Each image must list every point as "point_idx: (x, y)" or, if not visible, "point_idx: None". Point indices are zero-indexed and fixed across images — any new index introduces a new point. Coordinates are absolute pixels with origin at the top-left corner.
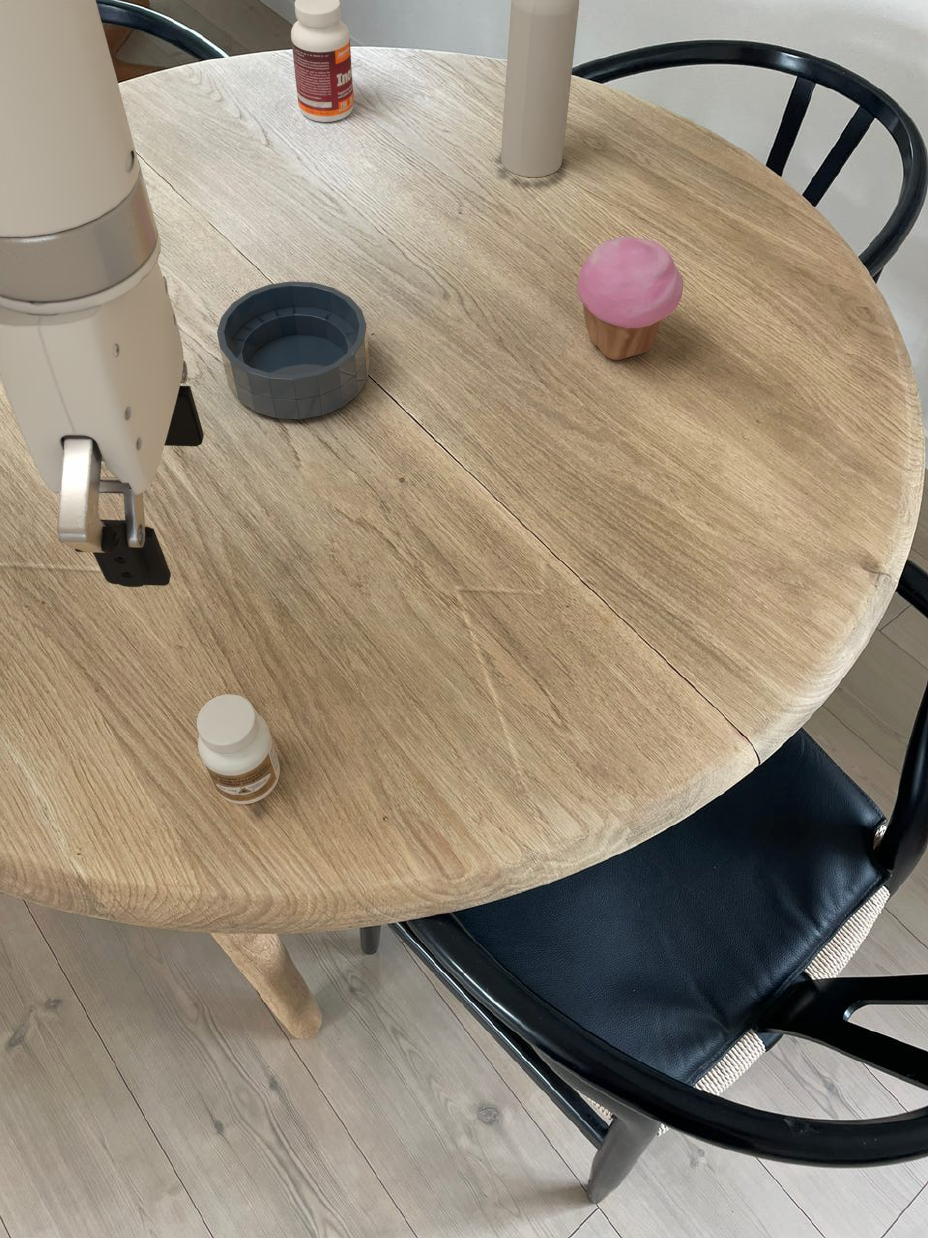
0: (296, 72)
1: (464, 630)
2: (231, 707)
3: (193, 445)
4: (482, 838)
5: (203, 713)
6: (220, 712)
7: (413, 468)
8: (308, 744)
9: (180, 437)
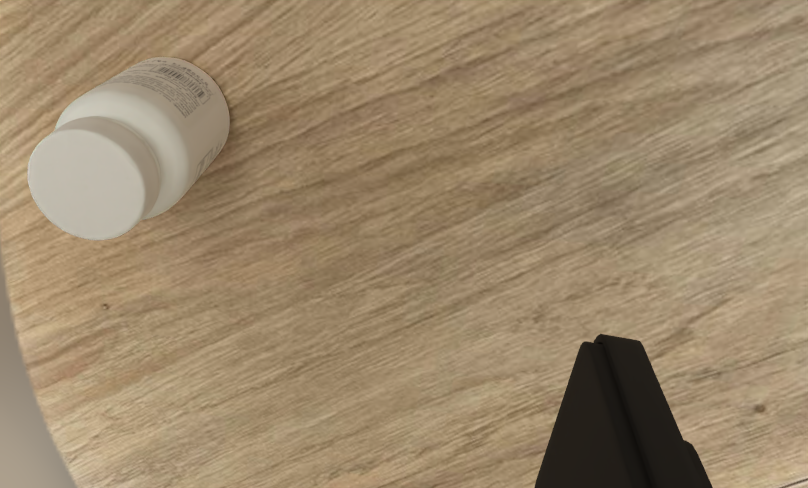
0: None
1: (418, 447)
2: (112, 199)
3: (537, 479)
4: (82, 415)
5: (94, 144)
6: (99, 177)
7: (781, 429)
8: (230, 213)
9: (553, 478)
